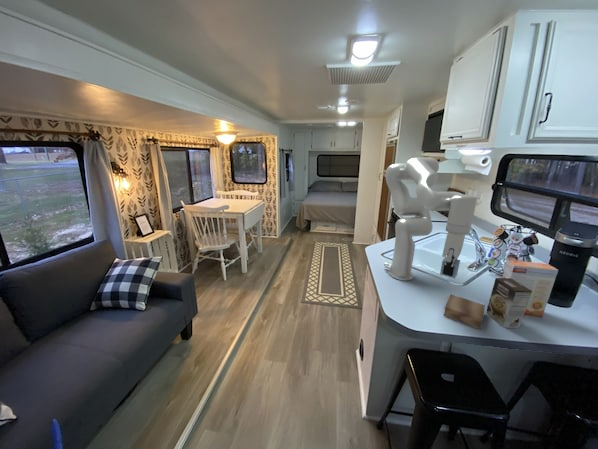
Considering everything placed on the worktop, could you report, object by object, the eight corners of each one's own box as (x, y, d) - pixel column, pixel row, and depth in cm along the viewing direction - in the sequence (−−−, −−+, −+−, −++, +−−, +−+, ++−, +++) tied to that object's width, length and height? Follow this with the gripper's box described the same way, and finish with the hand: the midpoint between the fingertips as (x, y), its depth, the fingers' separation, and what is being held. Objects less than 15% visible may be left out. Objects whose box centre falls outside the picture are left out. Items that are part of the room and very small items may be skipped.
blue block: (439, 274, 93) (442, 260, 91) (442, 270, 96) (445, 256, 94) (454, 278, 89) (457, 264, 88) (457, 274, 93) (460, 260, 91)
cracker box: (533, 308, 99) (549, 263, 93) (542, 317, 94) (560, 270, 88) (494, 302, 103) (506, 258, 97) (501, 310, 98) (515, 265, 92)
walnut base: (443, 315, 94) (445, 307, 93) (448, 301, 103) (450, 294, 102) (480, 329, 87) (483, 320, 86) (482, 313, 96) (485, 305, 95)
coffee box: (484, 312, 96) (494, 277, 92) (500, 312, 96) (511, 277, 92) (503, 328, 88) (515, 290, 83) (520, 328, 88) (533, 290, 83)
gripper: (450, 221, 96) (443, 262, 101) (441, 231, 84) (432, 277, 89) (473, 225, 91) (463, 268, 96) (466, 235, 79) (456, 284, 84)
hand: (449, 271), depth 92 cm, fingers closed on blue block, 5 cm apart
